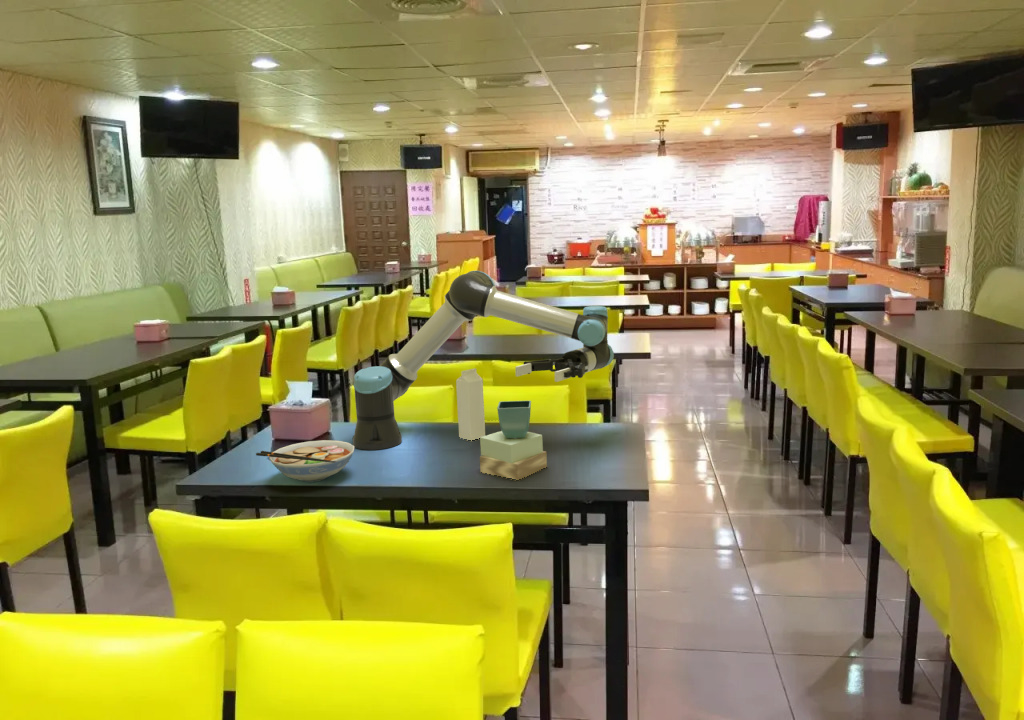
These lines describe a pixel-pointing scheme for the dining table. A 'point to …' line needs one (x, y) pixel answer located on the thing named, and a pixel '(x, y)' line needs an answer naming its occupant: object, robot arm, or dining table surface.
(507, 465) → the maple block
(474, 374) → the milk
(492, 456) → the sage block
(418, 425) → the dining table surface
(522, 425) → the flower pot
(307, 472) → the ramen bowl
